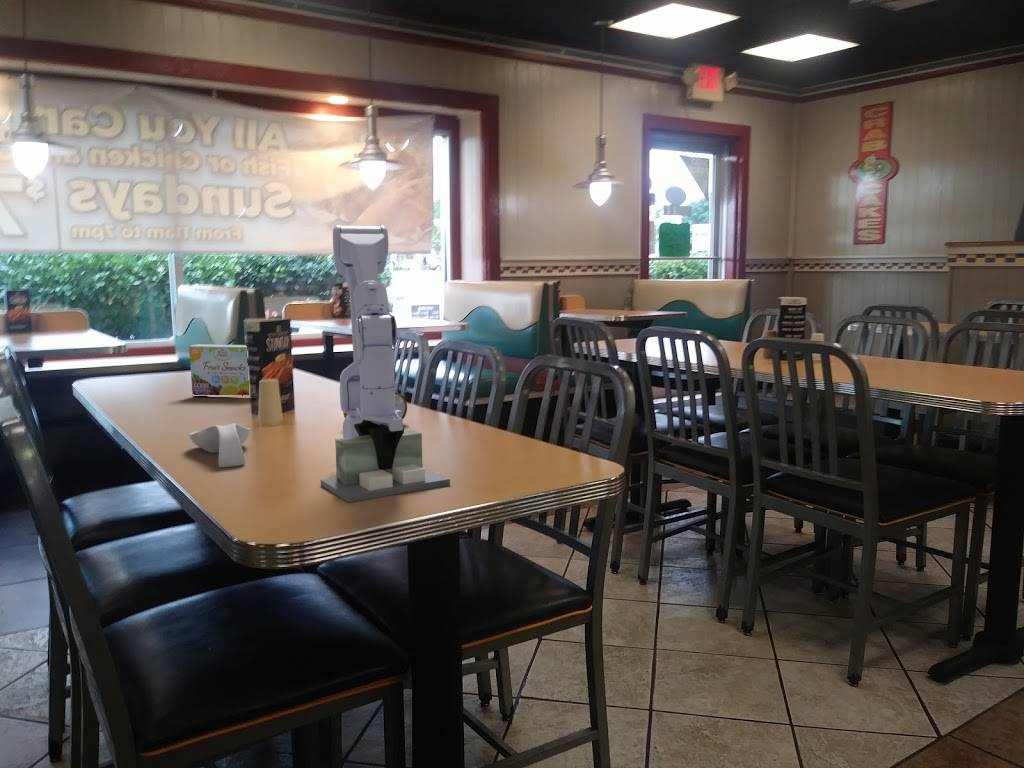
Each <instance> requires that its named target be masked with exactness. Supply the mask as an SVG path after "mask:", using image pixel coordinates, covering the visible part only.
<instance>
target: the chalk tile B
mask: <svg viewBox="0 0 1024 768" xmlns="http://www.w3.org/2000/svg"><path fill="white" fill-rule="evenodd" d="M424 468H425V467H423V468H421V467H419V466H417V465H414V464H412V465H406V466H399V467H393V468H392V472H393V480H395V481H397V482H399V483H401V484H409V483H415V482H421V481H425V469H424Z"/></svg>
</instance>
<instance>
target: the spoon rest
mask: <svg viewBox="0 0 1024 768" xmlns="http://www.w3.org/2000/svg"><path fill="white" fill-rule="evenodd" d="M250 432H251V428H250V427H244V426H242V425H239V424H238V423H234V422H233V423H230V424H227V425H219V424H218V425H217V424H215V425H211V426H208V427H206V428H204V429H202V430H198V431H193V432H190V433H189V434H188V437H189V439H190V440H191V441H192V442H193V444H195V445H196V446H197V447H198V448H200V449H202V450H204V451H205V452H207V451H208V453H218V468H222V469H223V468H231V467H232V468H233V467H240V466H245V465H246V459H245V454H244V450H243V447H242V445H243V444H244V443H245V442H246V440H247V439H248V437H249V435H250Z"/></svg>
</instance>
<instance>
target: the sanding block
mask: <svg viewBox="0 0 1024 768" xmlns="http://www.w3.org/2000/svg"><path fill="white" fill-rule="evenodd" d="M422 434H423V433H422V432H419V431H416V430H414V429H412V428H411V429H404V433H403V435H402V437H401V439H400V441H399V443H398V446H397V449H396V453H395V457H394V462H393V466H392V468H393V467H399V466H406V465H412V464H414V465H417V466H419V467H421V468H424V467H423V435H422ZM334 441H335V442H334V444H335V445H334V446H335V468H336V469H335V470H336V477H337V481H339V482H341V483H342V484H344V485H346V486H347V485H353V484H359V483H360V480H359V473H364V472H371V471H377V470H379V467H378V463H377V456H376V449H375V445H374V442H373V439H372V437H371V435H364V436H356V437H349V438H343V437H342V438H335V439H334ZM383 471H386V472H388V473H390V474H392V478H393V472H392V469H387V470H383Z"/></svg>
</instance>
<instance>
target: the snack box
mask: <svg viewBox="0 0 1024 768" xmlns="http://www.w3.org/2000/svg"><path fill="white" fill-rule="evenodd" d="M246 345H247V344H215V343H214V344H212V343H211V344H209V343H208V344H207V343H204V344H203V343H200V344H199V343H198V344H192V345H189V346H188V349H189V350H188V351H189V364H190V365H189V367H190V377H191V380H190V381H191V392H192V395H193V394H194V395H242V396H243V395H249V380H248V368H247V366H248V363H247V346H246Z"/></svg>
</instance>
